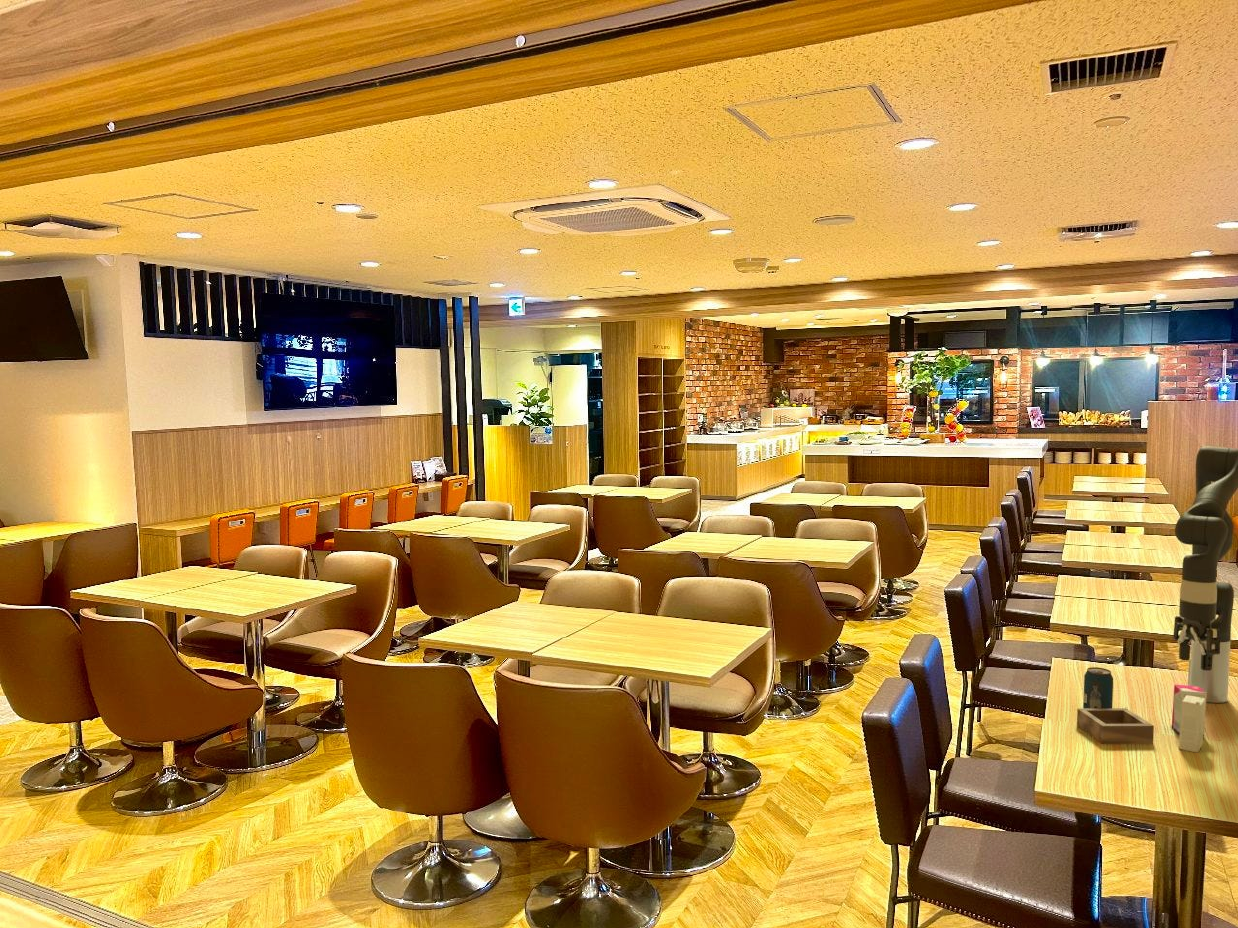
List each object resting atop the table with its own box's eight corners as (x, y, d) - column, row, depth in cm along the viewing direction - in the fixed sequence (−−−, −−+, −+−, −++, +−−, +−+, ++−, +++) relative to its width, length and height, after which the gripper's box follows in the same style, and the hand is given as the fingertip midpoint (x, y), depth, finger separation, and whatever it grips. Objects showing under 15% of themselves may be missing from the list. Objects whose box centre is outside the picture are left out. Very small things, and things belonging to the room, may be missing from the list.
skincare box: (1182, 741, 231) (1184, 693, 230) (1203, 746, 228) (1206, 697, 227) (1177, 749, 226) (1180, 700, 225) (1199, 753, 223) (1201, 704, 222)
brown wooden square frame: (1076, 725, 242) (1077, 708, 242) (1125, 724, 242) (1125, 708, 242) (1102, 743, 230) (1102, 725, 229) (1153, 743, 230) (1153, 725, 229)
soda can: (1105, 709, 254) (1107, 666, 253) (1116, 718, 247) (1118, 674, 246) (1078, 709, 254) (1080, 666, 253) (1089, 718, 247) (1090, 673, 246)
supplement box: (1205, 737, 234) (1207, 692, 233) (1179, 735, 235) (1181, 691, 234) (1195, 728, 239) (1198, 685, 238) (1170, 727, 241) (1172, 683, 240)
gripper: (1233, 605, 217) (1229, 673, 218) (1195, 592, 231) (1192, 656, 232) (1201, 605, 217) (1197, 673, 218) (1165, 592, 231) (1162, 656, 232)
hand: (1194, 664), depth 225 cm, fingers open, 8 cm apart
